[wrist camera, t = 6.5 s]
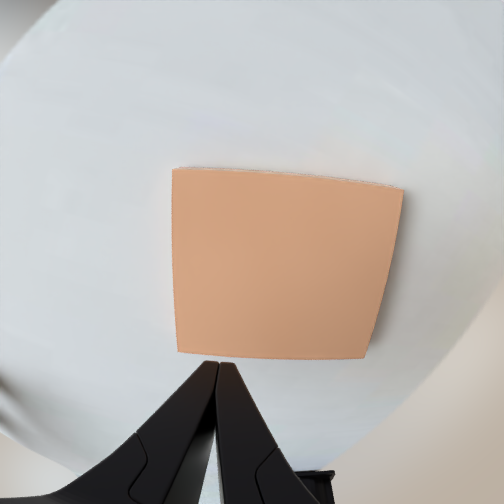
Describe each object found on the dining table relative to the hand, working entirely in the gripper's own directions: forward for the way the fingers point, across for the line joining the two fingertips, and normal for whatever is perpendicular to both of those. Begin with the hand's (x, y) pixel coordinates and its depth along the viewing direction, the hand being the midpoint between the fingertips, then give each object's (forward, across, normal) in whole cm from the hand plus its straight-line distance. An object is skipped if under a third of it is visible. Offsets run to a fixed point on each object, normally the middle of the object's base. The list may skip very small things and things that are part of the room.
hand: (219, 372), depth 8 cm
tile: (+8, -2, 0) cm, 8 cm away
